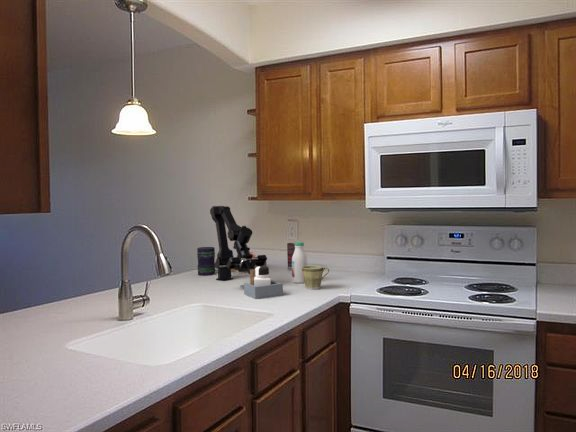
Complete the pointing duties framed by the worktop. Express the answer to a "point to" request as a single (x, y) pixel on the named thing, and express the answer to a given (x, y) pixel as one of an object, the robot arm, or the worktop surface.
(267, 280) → the medicine bottle
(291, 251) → the supplement box
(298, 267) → the milk bottle
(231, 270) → the wooden box
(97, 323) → the worktop surface
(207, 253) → the storage jar
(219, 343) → the worktop surface
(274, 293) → the grey angular block
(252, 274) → the tan wooden stepped block
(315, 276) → the ceramic cup
